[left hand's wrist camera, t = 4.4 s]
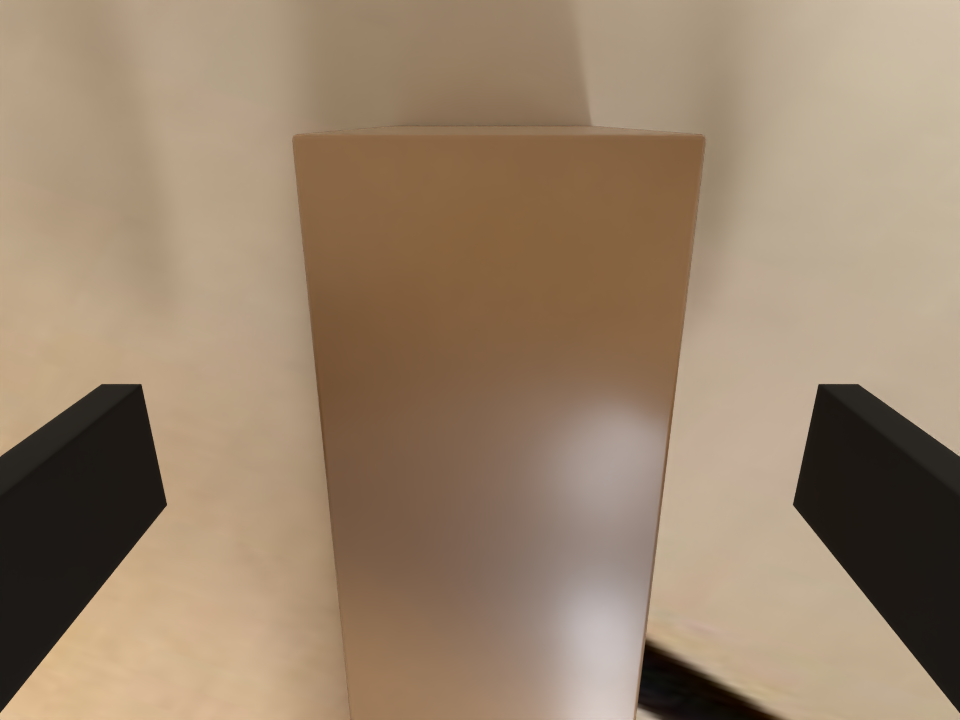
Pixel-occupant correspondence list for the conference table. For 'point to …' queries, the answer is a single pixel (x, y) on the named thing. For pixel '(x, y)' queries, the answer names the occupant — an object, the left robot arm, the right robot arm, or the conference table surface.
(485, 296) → the beam
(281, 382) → the conference table surface
